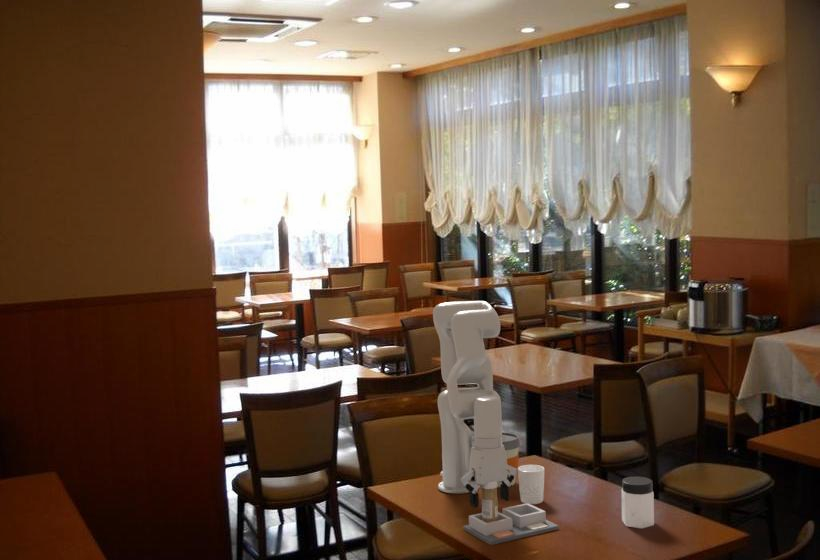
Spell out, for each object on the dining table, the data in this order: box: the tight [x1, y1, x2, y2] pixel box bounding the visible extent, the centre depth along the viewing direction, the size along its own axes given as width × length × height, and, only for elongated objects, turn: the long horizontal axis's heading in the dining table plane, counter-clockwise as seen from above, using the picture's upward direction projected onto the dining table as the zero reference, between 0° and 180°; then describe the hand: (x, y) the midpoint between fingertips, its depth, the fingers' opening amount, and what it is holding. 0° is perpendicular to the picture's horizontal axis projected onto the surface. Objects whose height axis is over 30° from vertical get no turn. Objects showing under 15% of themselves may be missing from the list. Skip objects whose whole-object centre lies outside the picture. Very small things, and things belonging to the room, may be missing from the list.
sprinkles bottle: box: [480, 481, 499, 523], centre depth 255 cm, size 5×5×14 cm
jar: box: [620, 476, 655, 529], centre depth 258 cm, size 9×8×12 cm
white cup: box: [517, 464, 545, 505], centre depth 281 cm, size 8×8×10 cm
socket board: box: [462, 503, 559, 546], centre depth 257 cm, size 14×22×4 cm, turn 118°
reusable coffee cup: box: [497, 431, 521, 488], centre depth 299 cm, size 13×13×15 cm
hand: (489, 502), depth 256 cm, fingers open, 9 cm apart
